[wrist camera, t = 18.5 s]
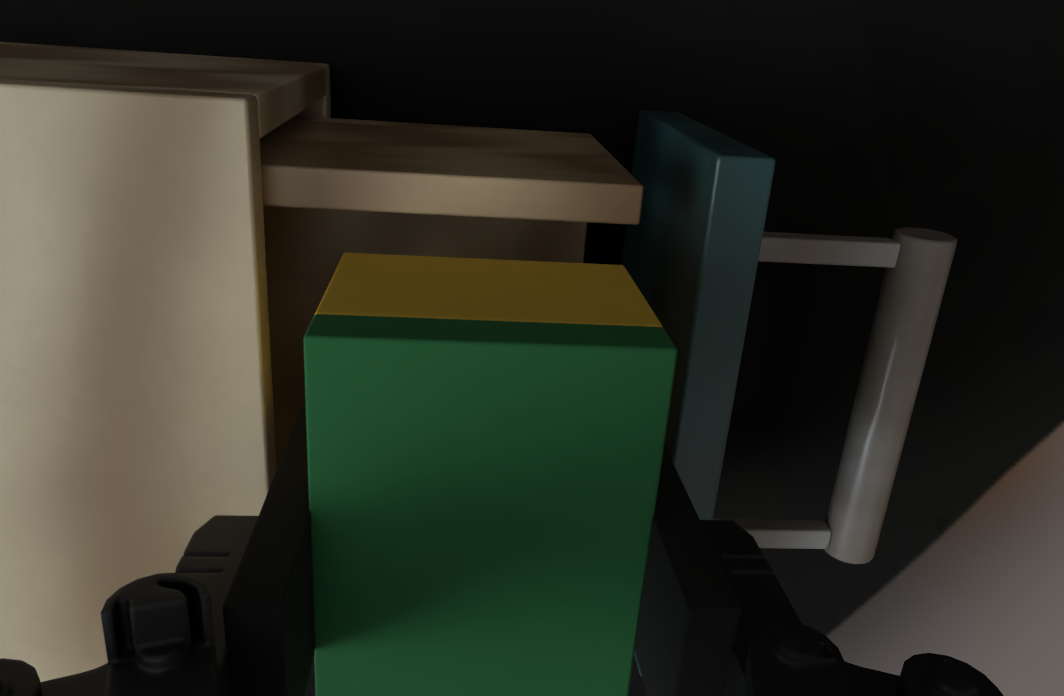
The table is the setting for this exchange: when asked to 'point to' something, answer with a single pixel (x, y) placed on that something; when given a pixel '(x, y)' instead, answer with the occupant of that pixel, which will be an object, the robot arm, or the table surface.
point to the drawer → (648, 255)
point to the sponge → (481, 475)
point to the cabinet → (128, 322)
